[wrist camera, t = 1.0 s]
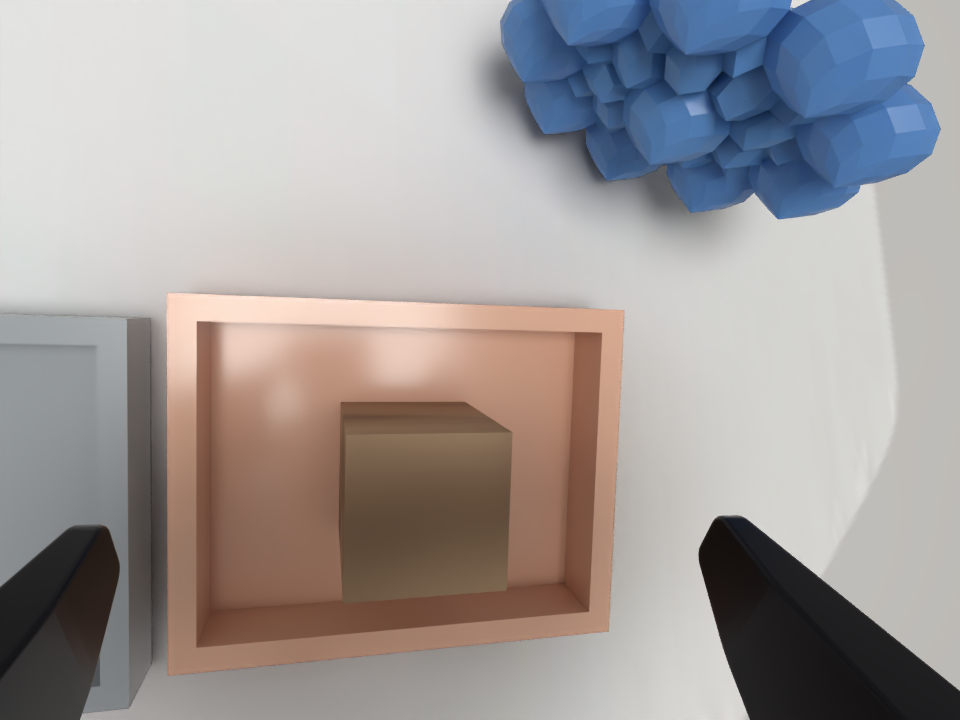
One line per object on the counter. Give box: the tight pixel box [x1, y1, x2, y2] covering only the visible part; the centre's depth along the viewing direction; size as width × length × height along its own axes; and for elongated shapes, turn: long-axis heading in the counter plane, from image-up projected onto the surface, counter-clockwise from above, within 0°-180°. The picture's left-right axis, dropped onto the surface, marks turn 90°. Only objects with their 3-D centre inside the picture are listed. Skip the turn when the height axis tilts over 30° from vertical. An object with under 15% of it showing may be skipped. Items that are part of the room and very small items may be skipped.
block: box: [339, 402, 513, 604], centre depth 19 cm, size 4×4×6 cm
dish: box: [167, 293, 624, 676], centre depth 21 cm, size 12×15×3 cm
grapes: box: [500, 0, 940, 219], centre depth 18 cm, size 12×7×12 cm, turn 61°
